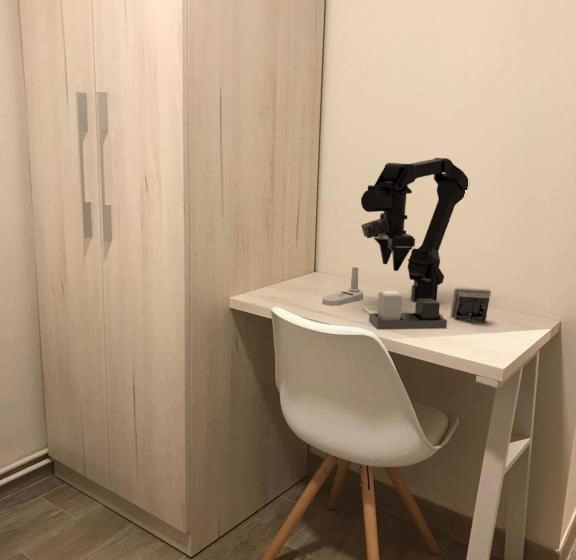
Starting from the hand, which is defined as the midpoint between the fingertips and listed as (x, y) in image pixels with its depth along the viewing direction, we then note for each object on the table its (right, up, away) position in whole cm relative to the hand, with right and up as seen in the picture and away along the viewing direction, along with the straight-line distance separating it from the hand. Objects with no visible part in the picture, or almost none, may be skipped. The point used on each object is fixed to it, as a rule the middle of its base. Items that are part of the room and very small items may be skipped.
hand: (390, 267), depth 170 cm
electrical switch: (+20, -15, -6) cm, 26 cm away
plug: (-3, -15, -14) cm, 20 cm away
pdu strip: (+2, -15, -13) cm, 20 cm away
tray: (-3, -13, -3) cm, 13 cm away
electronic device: (-12, -10, +9) cm, 18 cm away
